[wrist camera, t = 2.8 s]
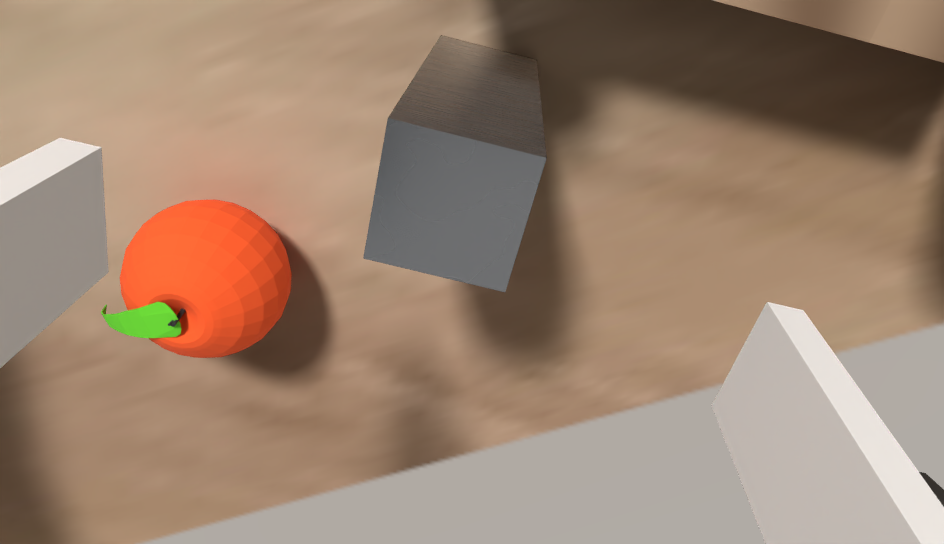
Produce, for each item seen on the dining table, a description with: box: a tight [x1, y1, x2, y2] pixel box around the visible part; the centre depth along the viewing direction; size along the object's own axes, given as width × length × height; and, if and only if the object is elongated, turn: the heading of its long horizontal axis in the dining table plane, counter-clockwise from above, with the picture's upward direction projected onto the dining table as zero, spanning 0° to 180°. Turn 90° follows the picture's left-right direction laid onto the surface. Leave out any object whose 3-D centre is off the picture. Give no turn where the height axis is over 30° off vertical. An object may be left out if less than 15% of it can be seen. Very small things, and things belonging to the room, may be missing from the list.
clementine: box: [101, 200, 291, 358], centre depth 29 cm, size 8×7×7 cm
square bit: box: [364, 35, 547, 292], centre depth 22 cm, size 4×4×12 cm
